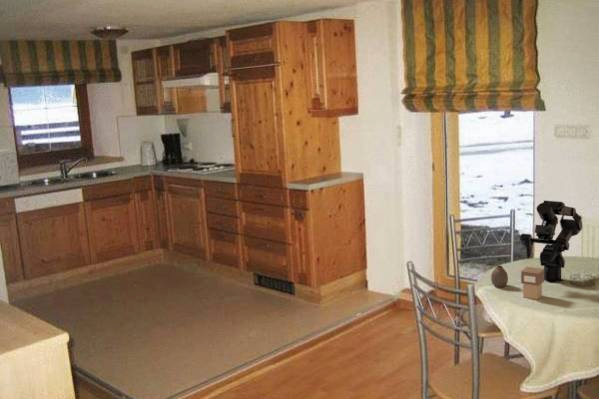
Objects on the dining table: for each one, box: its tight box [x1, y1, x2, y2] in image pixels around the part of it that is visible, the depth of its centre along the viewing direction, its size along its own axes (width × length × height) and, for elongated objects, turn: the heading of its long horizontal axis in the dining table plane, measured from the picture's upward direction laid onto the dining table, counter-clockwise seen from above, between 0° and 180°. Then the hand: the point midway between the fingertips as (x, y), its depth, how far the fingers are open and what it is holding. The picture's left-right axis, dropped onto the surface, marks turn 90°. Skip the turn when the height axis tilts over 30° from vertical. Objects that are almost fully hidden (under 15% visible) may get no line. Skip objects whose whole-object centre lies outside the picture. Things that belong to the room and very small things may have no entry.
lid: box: [520, 266, 545, 286], centre depth 254 cm, size 7×7×5 cm
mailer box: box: [522, 282, 543, 300], centre depth 255 cm, size 6×6×10 cm
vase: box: [490, 264, 509, 288], centre depth 270 cm, size 7×7×9 cm
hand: (539, 259), depth 259 cm, fingers open, 9 cm apart
